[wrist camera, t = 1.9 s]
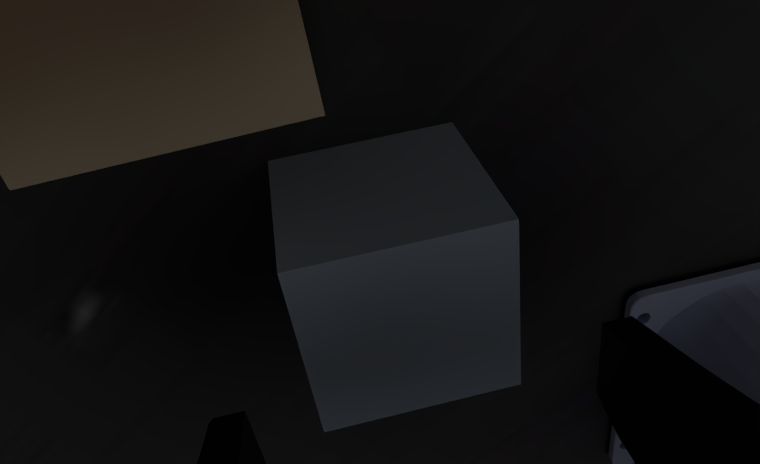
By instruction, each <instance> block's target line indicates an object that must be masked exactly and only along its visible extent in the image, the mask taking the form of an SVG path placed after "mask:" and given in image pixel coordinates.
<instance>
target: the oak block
mask: <svg viewBox="0 0 760 464" xmlns="http://www.w3.org/2000/svg"><path fill="white" fill-rule="evenodd" d="M321 116H325V113H324V108H323V104H322V100H321V96H320V92H319V87H318V83H317V79H316V75H315V71H314V66H313V62H312V58H311V54H310V50H309V45H308V41H307V37H306V33H305V29H304V24H303V20H302V16H301V12H300V8H299V3H298V0H0V175H1V177H2V178H3V180H4V182H5V183H6V185H7V187H8V188H9V190H13V189H18V188H22V187H26V186H30V185H35V184H39V183H43V182H47V181H51V180H56V179H60V178H64V177H68V176H72V175H77V174H81V173H85V172H89V171H93V170H98V169H102V168H106V167H110V166H115V165H119V164H123V163H127V162H131V161H136V160H140V159H144V158H148V157H152V156H157V155H161V154H165V153H169V152H173V151H178V150H182V149H186V148H190V147H195V146H199V145H203V144H207V143H211V142H216V141H220V140H224V139H228V138H232V137H237V136H241V135H245V134H249V133H253V132H258V131H262V130H266V129H270V128H275V127H279V126H283V125H287V124H291V123H296V122H300V121H304V120H308V119H312V118H317V117H321Z"/></svg>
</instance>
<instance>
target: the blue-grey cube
mask: <svg viewBox="0 0 760 464" xmlns="http://www.w3.org/2000/svg"><path fill="white" fill-rule="evenodd" d="M268 170H269V182H270V194H271V206H272V217H273V229H274V241H275V253H276V265H277V274H278V278H279V281H280V284H281V288H282V291H283V295H284V298H285V301H286V305H287V308H288V311H289V315H290V318H291V322H292V325H293V328H294V332H295V335H296V338H297V342H298V345H299V349H300V352H301V355H302V359H303V362H304V365H305V369H306V372H307V376H308V379H309V382H310V386H311V389H312V392H313V396H314V399H315V403H316V406H317V409H318V413H319V416H320V419H321V423H322V426H323V430H324V432H327V431H331V430H336V429H340V428H344V427H348V426H352V425H356V424H360V423H364V422H368V421H372V420H376V419H380V418H385V417H389V416H393V415H397V414H401V413H405V412H409V411H413V410H417V409H421V408H425V407H429V406H434V405H438V404H442V403H446V402H450V401H454V400H458V399H462V398H466V397H470V396H474V395H478V394H483V393H487V392H491V391H495V390H499V389H503V388H507V387H511V386H515V385H519V384H521V345H520V265H519V219H518V217H517V216H516V214H515V213H514V211H513V210H512V208H511V207H510V206H509V204H508V203H507V201H506V200H505V198H504V197H503V195H502V194H501V192H500V191H499V190H498V188H497V187H496V185H495V184H494V182H493V181H492V179H491V178H490V177H489V175H488V174H487V172H486V171H485V169H484V168H483V166H482V165H481V163H480V162H479V161H478V159H477V158H476V156H475V155H474V153H473V152H472V150H471V149H470V148H469V146H468V145H467V143H466V142H465V140H464V139H463V137H462V136H461V134H460V133H459V132H458V130H457V129H456V127H455V126H454V124H453V123H452V122H450V123H445V124H441V125H436V126H431V127H426V128H422V129H417V130H412V131H408V132H403V133H398V134H393V135H389V136H384V137H379V138H374V139H370V140H365V141H360V142H355V143H351V144H346V145H341V146H336V147H332V148H327V149H322V150H318V151H313V152H308V153H303V154H299V155H294V156H289V157H284V158H280V159H275V160H270V161H268Z"/></svg>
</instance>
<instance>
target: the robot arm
mask: <svg viewBox="0 0 760 464" xmlns="http://www.w3.org/2000/svg"><path fill="white" fill-rule="evenodd" d="M597 394H598V396H599V398H600V400H601V402H602V404H603V406H604V408H605V411H606V413H607V415H608V417H609V419H610V421H611V423H612V429H611V437H610V446H609V455H608V456H609V459H610V461H611V462H612V464H632V463H635V464H760V262H758V263H754V264H750V265H746V266H742V267H737V268H733V269H729V270H725V271H721V272H716V273H712V274H708V275H704V276H700V277H695V278H691V279H687V280H683V281H679V282H675V283H670V284H666V285H662V286H658V287H654V288H649V289H645V290H641V291H638V292H636V293H634V294H633V295H631V296H630V297H629V299H628V300H627V303H626V307H625V316H624V318H622V319H617V320H613V321H609V322H605V323H603V327H602V338H601V349H600V360H599V371H598V381H597ZM197 464H266V462H265V460H264V458H263V455H262V453H261V450H260V448H259V445H258V443H257V440H256V438H255V435H254V433H253V430H252V428H251V425H250V423H249V420H248V418H247V415H246V413H245V411H242V412H238V413H233V414H229V415H225V416H221V417H217V418H213V419H212V420H211V422H210V423H209V425H208V429H207V432H206V436H205V440H204V443H203V446H202V450H201V453H200V456H199V459H198V462H197Z"/></svg>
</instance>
